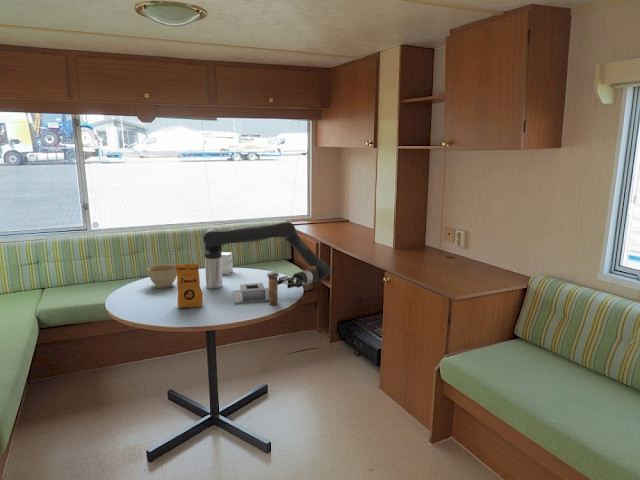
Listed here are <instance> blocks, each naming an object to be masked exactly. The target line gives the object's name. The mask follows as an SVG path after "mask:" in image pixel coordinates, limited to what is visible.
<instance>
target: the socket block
mask: <svg viewBox="0 0 640 480" xmlns="http://www.w3.org/2000/svg"><path fill="white" fill-rule="evenodd" d="M231 293H232V297H233V301H234V305H241V304H243V305H244V304H255V303H267V302H268V303H269V287H265V285H264V283H262V282H255V283H243V284H242V283H240V284H239V289H238V290H232V291H231Z"/></svg>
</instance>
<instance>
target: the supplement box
mask: <svg viewBox="0 0 640 480" xmlns="http://www.w3.org/2000/svg"><path fill="white" fill-rule="evenodd" d="M221 256H222V275H230V274H231V273H232V272H233V270H234V269H233V268H234V266H233V263H234V262H233V252H229V251H228V252H224V251H222V252H221ZM233 273H234V272H233Z"/></svg>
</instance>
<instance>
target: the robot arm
mask: <svg viewBox="0 0 640 480" xmlns="http://www.w3.org/2000/svg"><path fill="white" fill-rule="evenodd" d="M271 238H283V239H284V240H285V241H287V242H288V243H289V244H290V245H291V246H292V247H293V248H294V249H295V251H296V252H297V253H298V254H299V256H300V258H302V260H303V261H304V262H305V263H306V264H307V266H309V267H310V269H307V270H302V271H299V272H295V273H294V274H292V276H288V275H285V276H281V277H278V279H277V284H278V286H279V285H282V284H285V285H287V289H291V288H297V289H298V288H301V287H303V286H306V285H308V284H311V283H313V282H319V281H323V280H324V279H325V278H327V277H328V276H329V275H330V274H331V273H332V272H331V267H330V266H329V265H328V264H327V263H326V262H325V261H323V260H322V259H320V258H319V257H318V256H317V255H316V253H315V252H314V251H313V250H312V249H311V248H310V247H309V246H308V244H306V243H305V242H304V241H303V239H301V238H300V236H299V235H298V233H297V231H296V226H295V225H294V223H293V222H290V221H283V222H278V223H274V224H253V225H245V226H240V227H236V228H233V229H228V230H218V229H216V228H209V229H208V230H207V231H205V233H204V234H203V238H202V241H203V243H204V266H205V270H204V272H205V288H206V289H220V288H222V287H223V282H224V281H223V274H222V256H221V253H222V252H223V250H222V249H223V247H222V246H223V245H227V244H228V245H229V244H241V243H254V242H259V241H264V240H267V239H271ZM311 267H312V268H311ZM313 267H316V269H315V268H313Z"/></svg>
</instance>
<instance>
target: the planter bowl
mask: <svg viewBox="0 0 640 480" xmlns="http://www.w3.org/2000/svg"><path fill="white" fill-rule="evenodd" d="M176 265H177V264H166V263H165V264H156V265H152V266H150V267H148V268H147V271H148V276H149V279H150V281H151V282H152V283H153V284H154V287H155V288H159V289H165V288H170V287H172V286H173V285H174V283H175V281H176V279H177V270H176Z"/></svg>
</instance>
